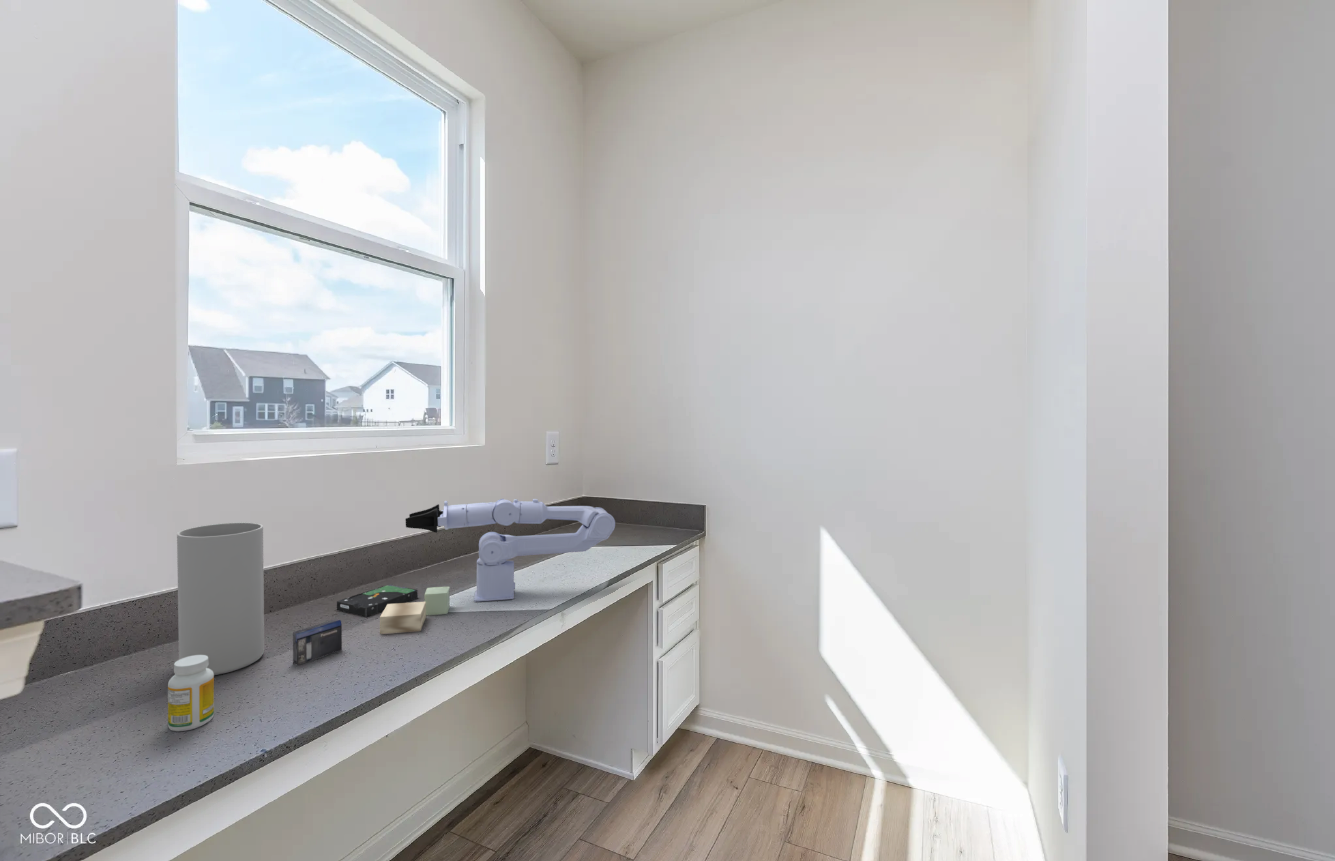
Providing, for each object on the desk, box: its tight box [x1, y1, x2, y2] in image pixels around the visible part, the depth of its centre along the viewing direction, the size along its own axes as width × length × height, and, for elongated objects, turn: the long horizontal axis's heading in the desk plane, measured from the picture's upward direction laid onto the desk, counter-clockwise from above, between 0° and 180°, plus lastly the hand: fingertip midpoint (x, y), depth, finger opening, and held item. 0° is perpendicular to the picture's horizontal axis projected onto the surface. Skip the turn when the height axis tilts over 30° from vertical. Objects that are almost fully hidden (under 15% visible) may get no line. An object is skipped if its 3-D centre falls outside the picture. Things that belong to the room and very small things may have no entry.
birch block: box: [379, 601, 427, 635], centre depth 126 cm, size 8×8×4 cm
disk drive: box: [336, 584, 419, 618], centre depth 139 cm, size 10×3×15 cm
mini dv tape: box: [292, 618, 343, 666], centre depth 110 cm, size 8×2×6 cm, turn 149°
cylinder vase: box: [176, 522, 265, 676], centre depth 106 cm, size 12×12×25 cm
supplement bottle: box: [167, 655, 215, 732], centre depth 86 cm, size 5×5×10 cm
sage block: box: [423, 586, 451, 616], centre depth 135 cm, size 5×5×5 cm
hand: (407, 520), depth 139 cm, fingers open, 7 cm apart
